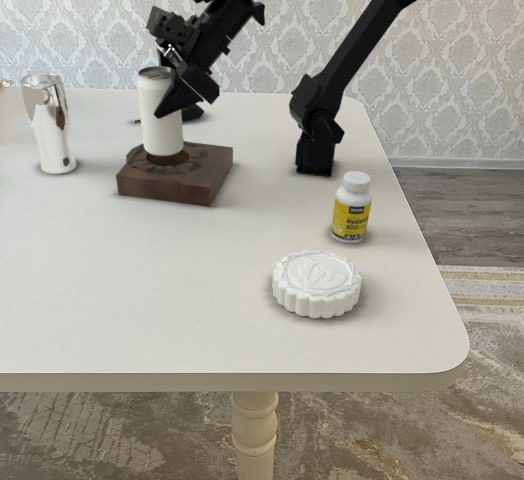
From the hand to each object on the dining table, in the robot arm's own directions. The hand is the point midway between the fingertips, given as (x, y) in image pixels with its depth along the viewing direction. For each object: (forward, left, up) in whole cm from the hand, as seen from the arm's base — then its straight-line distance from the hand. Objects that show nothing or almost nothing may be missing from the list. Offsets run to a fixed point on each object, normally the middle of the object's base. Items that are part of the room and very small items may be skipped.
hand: (151, 109), depth 93 cm
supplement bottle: (-33, +7, -14) cm, 37 cm away
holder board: (-2, -4, -13) cm, 14 cm away
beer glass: (+20, -3, -14) cm, 24 cm away
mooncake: (-30, +23, -14) cm, 40 cm away
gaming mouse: (+8, -30, -14) cm, 34 cm away
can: (-1, -1, -7) cm, 7 cm away
